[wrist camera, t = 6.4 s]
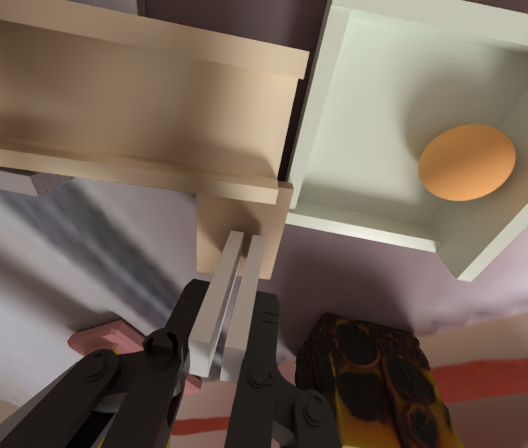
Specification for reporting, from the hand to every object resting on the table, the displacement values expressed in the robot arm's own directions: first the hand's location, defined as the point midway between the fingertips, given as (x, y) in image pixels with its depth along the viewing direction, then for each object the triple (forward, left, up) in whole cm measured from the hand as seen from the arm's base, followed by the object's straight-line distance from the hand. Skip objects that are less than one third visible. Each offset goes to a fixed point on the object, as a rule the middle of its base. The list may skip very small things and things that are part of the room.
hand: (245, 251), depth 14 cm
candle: (+13, -15, -5) cm, 20 cm away
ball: (+10, +7, -1) cm, 12 cm away
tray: (+7, +7, -4) cm, 11 cm away
